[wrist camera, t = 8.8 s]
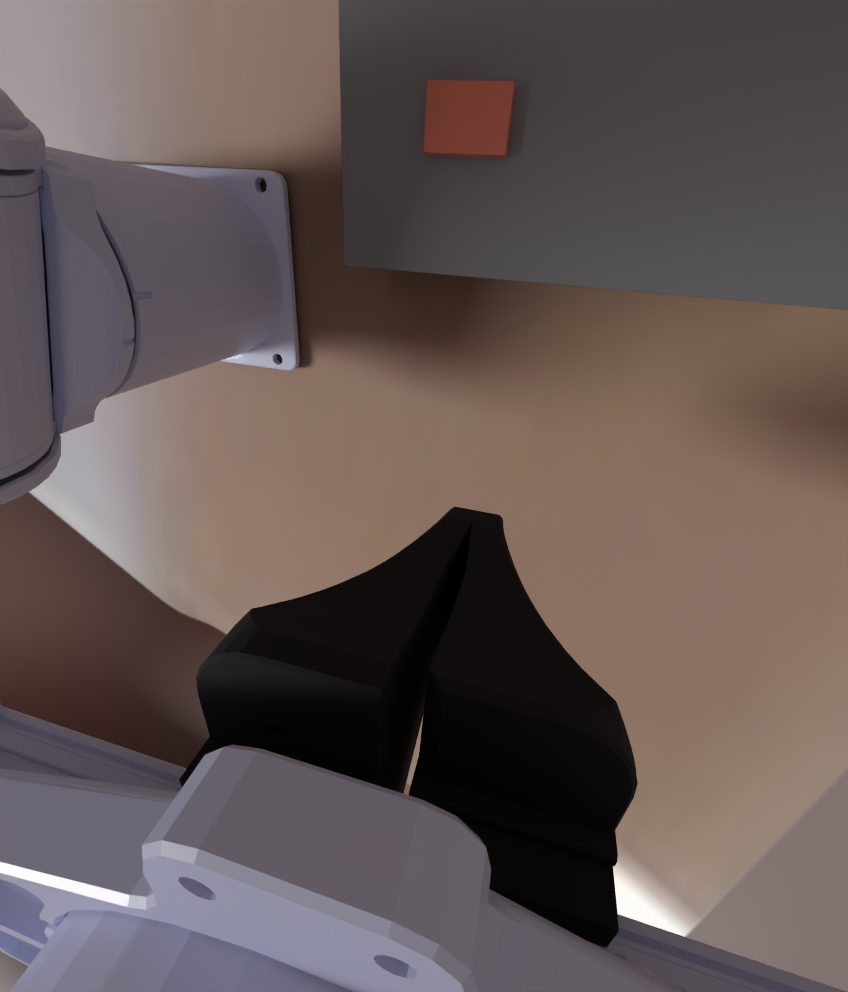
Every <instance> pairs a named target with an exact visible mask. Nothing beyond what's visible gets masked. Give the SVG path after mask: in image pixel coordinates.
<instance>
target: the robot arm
mask: <svg viewBox="0 0 848 992" xmlns="http://www.w3.org/2000/svg"><path fill="white" fill-rule="evenodd" d="M262 179H264V180H265V181H266V184H267V188H266V190H265V192H263V191H262V190H261V187H260V183H261V181H262ZM277 354H279V355H280V356H281V357H282V363H281V362H279V361H278V359H277ZM217 361H221V362H228V363H236V364H243V365H251V366H258V367H265V368H273V369H280V370H287V371H290V370H294V369H296V368H297V367H298V366H299V363H300V356H299V342H298V328H297V314H296V300H295V286H294V272H293V258H292V244H291V230H290V216H289V202H288V188H287V183H286V180H285V179H284V177H283V176H282V175H281V174H280V173H277V172H274V171H268V170H248V169H228V168H208V167H187V166H167V165H147V164H127V163H122V162H117V161H113V160H108V159H103V158H98V157H94V156H89V155H84V154H80V153H75V152H70V151H65V150H61V149H56V148H51V147H47V146H45V139H44V136H43V134H42V133H41V131H40V130H39V129H38V127H37V126H36V125H35V124H34V123H33V122H31V121H30V120H29V119H28V118H26V117H25V116H24V114H23V113H22V112H21V111H20V110H19V108H18V107H17V106H16V105H15V104H14V102H13V101H12V100H11V99H10V98H9V97H8V95H7V94H6V93H5V92H4V91H3V90H2V89H0V505H1V504H4V503H6V502H8V501H11V500H13V499H15V498H18V497H20V496H22V495H24V494H25V493H27V492H29V491H30V490H32V489H34V488H35V487H37V486H38V485H40V484H41V483H42V482H43V481H44V480H46V479H47V478H48V477H49V476H50V474H51V473H52V472H53V471H54V469H55V468H56V466H57V463H58V461H59V458H60V456H61V437H60V434H61V433H64V432H67V431H69V430H72V429H75V428H77V427H80V426H83V425H85V424H88V423H91V422H93V421H94V413H95V410H96V407H97V405H98V404H99V402H100V401H101V400H103V399H104V398H108V397H111V396H114V395H117V394H120V393H123V392H126V391H129V390H132V389H135V388H138V387H141V386H144V385H147V384H150V383H153V382H156V381H159V380H162V379H166V378H169V377H172V376H175V375H178V374H181V373H184V372H187V371H190V370H193V369H196V368H199V367H202V366H205V365H208V364H211V363H214V362H217ZM196 680H197V689H198V695H199V699H200V703H201V706H202V710H203V713H204V717H205V720H206V724H207V727H208V731H209V734H210V737H209V739H208V740H207V741H206V743H205V744H204V745H203V747H202V748H201V750H200V751H199V752H198V754H197V755H196V757H195V758H194V759H193V761H192V762H191V764H190V765H189V766H188V768H187V769H186V768H182V767H180V766H177V765H174V764H171V763H168V762H165V761H162V760H159V759H156V758H153V757H150V756H147V755H144V754H141V753H138V752H135V751H132V750H129V749H126V748H124V747H121V746H118V745H115V744H112V743H109V742H106V741H103V740H100V739H97V738H94V737H91V736H88V735H85V734H82V733H79V732H76V731H73V730H70V729H67V728H64V727H61V726H58V725H55V724H52V723H50V722H46V721H44V720H41V719H37V718H35V717H32V716H29V715H26V714H23V713H20V712H17V711H14V710H11V709H8V708H5V707H2V706H1V701H0V951H1V952H3V953H5V954H7V955H9V956H11V957H13V958H14V959H16V960H18V961H20V962H22V963H24V964H26V965H27V966H29V967H28V968H27V970H26V971H25V972H24V974H23V975H22V976H21V978H20V979H19V980H18V982H17V983H16V984H15V986H14V987H13V989H12V990H11V991H10V992H846V991H843V990H840V989H837V988H834V987H831V986H828V985H825V984H822V983H819V982H816V981H813V980H810V979H807V978H804V977H801V976H799V975H796V974H793V973H789V972H787V971H784V970H780V969H778V968H775V967H772V966H769V965H765V964H763V963H760V962H757V961H754V960H751V959H748V958H745V957H742V956H739V955H736V954H733V953H730V952H727V951H724V950H721V949H719V948H716V947H712V946H710V945H707V944H704V943H701V942H698V941H695V940H692V939H689V938H686V937H683V936H680V935H677V934H674V933H671V932H668V931H665V930H662V929H659V928H656V927H653V926H650V925H648V924H645V923H642V922H639V921H636V920H633V919H630V918H627V917H624V916H621V915H618V914H617V906H616V895H615V885H614V875H613V866H615V865H616V863H617V857H618V853H617V844H616V835H615V830H616V828H617V826H618V824H619V823H620V821H621V819H622V817H623V815H624V814H625V812H626V810H627V808H628V807H629V805H630V803H631V801H632V799H633V798H634V794H635V791H636V787H637V784H638V783H637V778H636V767H635V761H634V756H633V752H632V748H631V745H630V741H629V738H628V735H627V731H626V728H625V725H624V722H623V719H622V716H621V713H620V711H619V708H618V705H617V703H616V701H615V700H614V699H613V698H612V697H611V696H610V695H609V694H608V693H607V692H606V691H605V690H604V689H603V688H602V687H600V686H599V685H598V684H597V683H596V682H595V681H594V680H593V679H592V678H591V677H590V676H589V675H588V674H587V673H586V672H585V671H584V670H583V669H582V668H581V667H580V666H579V665H578V664H577V663H576V662H575V660H574V659H573V658H572V657H571V656H570V655H569V654H568V653H567V651H566V650H565V649H564V648H563V647H562V645H561V644H560V643H559V641H558V640H557V639H556V637H555V636H554V635H553V633H552V632H551V631H550V630H549V628H548V627H547V626H546V624H545V623H544V621H543V619H542V618H541V616H540V615H539V613H538V612H537V610H536V608H535V607H534V605H533V603H532V602H531V600H530V598H529V596H528V594H527V593H526V591H525V589H524V587H523V585H522V582H521V580H520V578H519V576H518V574H517V571H516V569H515V566H514V564H513V561H512V558H511V555H510V552H509V550H508V546H507V543H506V539H505V535H504V529H503V519H502V518H501V516H500V515H497V514H491V513H486V512H481V511H475V510H470V509H464V508H459V507H454V508H452V509H450V510H449V511H448V512H447V513H446V514H445V515H444V516H443V517H442V518H441V519H440V520H439V521H438V522H437V523H436V524H435V525H433V526H432V527H431V528H430V529H429V530H428V531H426V532H425V533H424V534H423V535H421V536H420V537H419V538H418V539H417V540H415V541H414V542H413V543H411V544H410V545H408V546H407V547H406V548H404V549H403V550H401V551H400V552H399V553H397V554H396V555H394V556H393V557H391V558H390V559H388V560H386V561H385V562H383V563H381V564H380V565H378V566H376V567H374V568H373V569H371V570H369V571H367V572H365V573H362V574H360V575H358V576H356V577H353V578H351V579H349V580H347V581H344V582H342V583H340V584H337V585H335V586H332V587H329V588H327V589H324V590H321V591H318V592H315V593H312V594H309V595H306V596H302V597H299V598H295V599H292V600H288V601H283V602H279V603H275V604H271V605H267V606H263V607H258V608H253V609H251V610H250V611H249V612H248V613H247V614H246V615H245V616H244V617H243V618H242V619H241V620H240V621H239V622H238V623H237V624H236V625H235V626H234V627H233V628H232V629H231V631H230V632H229V633H228V634H227V635H226V636H225V638H224V639H223V640H222V641H221V642H220V643H219V645H218V646H217V647H216V648H215V649H214V650H213V652H212V653H211V654H210V655H209V656H208V658H207V659H206V660H205V661H204V662H203V664H202V665H201V666H200V668H199V671H198V674H197V677H196ZM423 713H424V714H423ZM422 717H423V724H422V733H421V743H420V752H419V757H418V761H417V765H416V769H415V772H414V776H413V780H412V784H411V787H410V791H409V795H406V794H403V793H404V789H405V785H406V781H407V777H408V772H409V768H410V764H411V760H412V756H413V752H414V748H415V745H416V741H417V737H418V733H419V729H420V725H421V721H422Z"/></svg>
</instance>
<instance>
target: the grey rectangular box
mask: <svg viewBox="0 0 848 992" xmlns="http://www.w3.org/2000/svg"><path fill="white" fill-rule="evenodd" d="M339 41H340V89H341V137H342V185H343V233H344V266H353V267H364V268H376V269H387V270H399V271H410V272H421V273H433V274H444V275H455V276H467V277H478V278H489V279H501V280H512V281H523V282H535V283H546V284H558V285H569V286H580V287H592V288H603V289H614V290H626V291H637V292H648V293H660V294H671V295H683V296H694V297H705V298H717V299H728V300H739V301H751V302H762V303H773V304H785V305H796V306H807V307H819V308H830V309H842V310H848V0H339Z"/></svg>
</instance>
